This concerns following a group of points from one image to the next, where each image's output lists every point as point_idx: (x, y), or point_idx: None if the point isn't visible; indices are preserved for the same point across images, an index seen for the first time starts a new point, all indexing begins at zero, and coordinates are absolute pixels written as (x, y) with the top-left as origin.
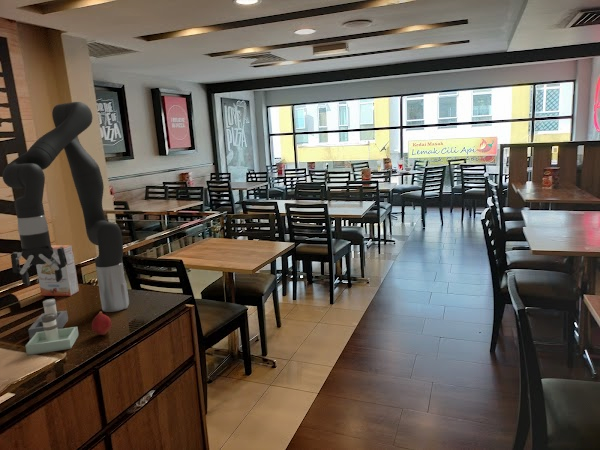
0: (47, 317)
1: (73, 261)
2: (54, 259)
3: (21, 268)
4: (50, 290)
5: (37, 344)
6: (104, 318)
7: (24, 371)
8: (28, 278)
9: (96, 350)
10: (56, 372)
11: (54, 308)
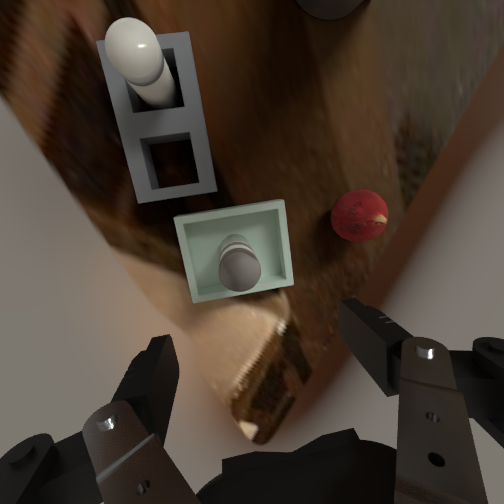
0: (244, 287)
1: None
2: (463, 417)
3: (79, 474)
4: None
5: (220, 297)
6: (383, 229)
7: (231, 360)
8: (163, 372)
9: (347, 293)
10: (297, 370)
11: (166, 76)
